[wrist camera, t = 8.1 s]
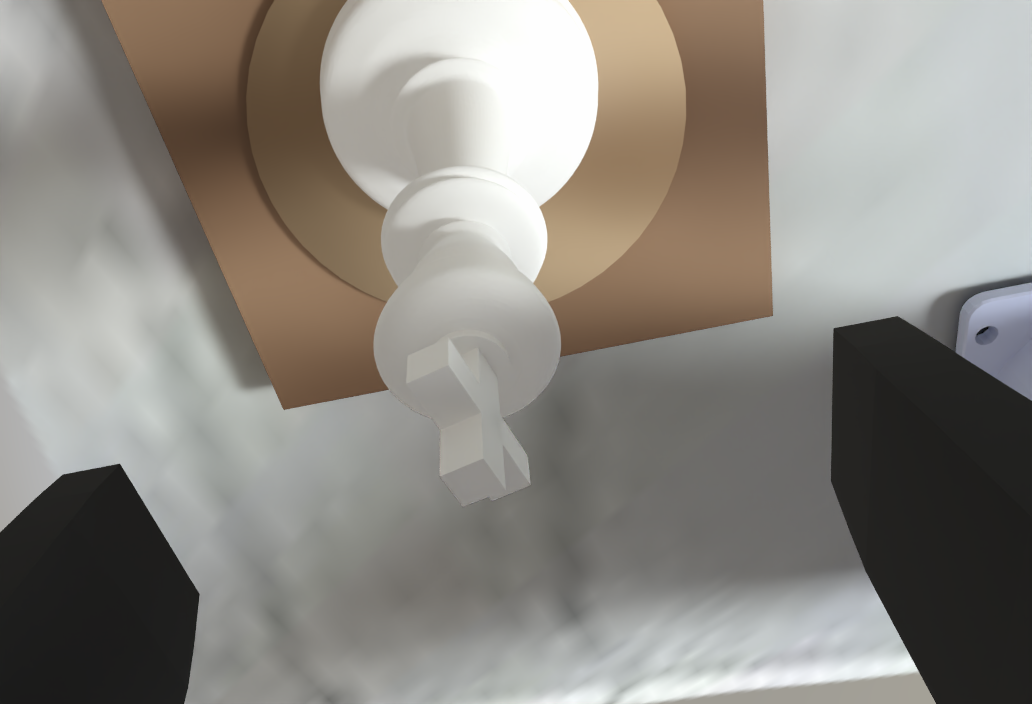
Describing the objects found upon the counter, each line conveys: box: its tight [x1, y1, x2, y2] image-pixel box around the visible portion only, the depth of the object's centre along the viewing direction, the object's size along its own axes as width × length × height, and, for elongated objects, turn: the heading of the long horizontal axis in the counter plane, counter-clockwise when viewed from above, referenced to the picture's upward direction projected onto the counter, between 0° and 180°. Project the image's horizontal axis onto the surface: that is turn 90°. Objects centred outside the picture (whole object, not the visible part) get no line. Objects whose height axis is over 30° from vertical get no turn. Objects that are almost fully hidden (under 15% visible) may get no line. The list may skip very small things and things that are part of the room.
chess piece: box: [320, 0, 598, 507], centre depth 12 cm, size 5×5×10 cm
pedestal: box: [101, 0, 773, 410], centre depth 17 cm, size 11×11×1 cm
